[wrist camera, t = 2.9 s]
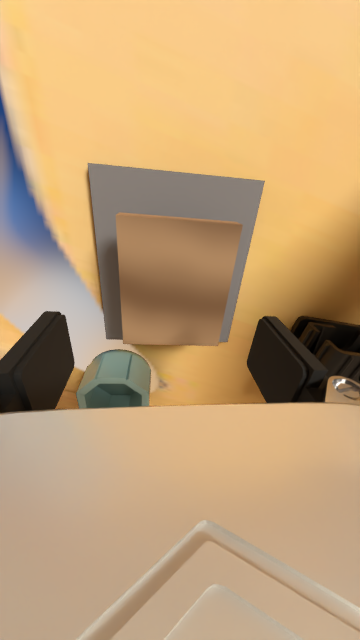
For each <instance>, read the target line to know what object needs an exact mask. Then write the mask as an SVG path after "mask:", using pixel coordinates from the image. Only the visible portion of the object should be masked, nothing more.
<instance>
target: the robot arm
mask: <svg viewBox="0 0 360 640" xmlns="http://www.w3.org/2000/svg"><path fill="white" fill-rule="evenodd" d="M247 366H248V368H249V370H250V372H251V374H252V376H253V378H254V380H255V382H256V384H257V385H258V387H259V389H260V391H261V393H262V395H263V397H264V399H265V400H266V402H267V403H245V404H205V405H169V406H137V407H108V408H79V409H55V408H56V406H57V403H58V401H59V399H60V397H61V395H62V392H63V390H64V388H65V386H66V384H67V381H68V379H69V377H70V375H71V373H72V371H73V368H74V357H73V352H72V347H71V342H70V337H69V333H68V327H67V322H66V317H65V315H61V313H60V312H50V311H49V312H48V311H46V312H44V313H43V314H42V315H41V316H40V317H39V319H38V320H37V321H36V322H35V323H34V324H33V325H32V326H31V327H30V328H29V330H28V331H27V332H26V333H25V334H24V335H23V336H22V337H21V338H20V339H19V340H18V341H17V343H16V344H15V345H14V346H13V347H12V348H11V349H10V350H9V351H8V352H7V354H6V355H5V356H4V357H3V358H2V359H1V360H0V640H360V384H359V383H357V382H355V381H353V380H351V379H349V378H346V377H342V376H332V377H330V378H328V377H327V376H326V373H327V372H328V370H327V369H326V368H325V366H324V365H323V364H322V363H321V362H320V361H319V360H318V359H317V358H316V357H315V356H314V355H313V354H312V353H311V352H310V351H309V350H308V349H307V348H306V347H305V346H304V345H303V344H302V343H301V342H300V341H299V340H298V339H297V338H296V337H295V336H294V335H293V334H292V333H291V332H290V330H289V329H288V328H287V327H286V326H285V325H284V324H283V323H282V322H281V321H280V320H279V319H278V318H277V317H271V316H264V317H263V318H262V319H260V320H259V322H258V325H257V328H256V332H255V335H254V339H253V342H252V345H251V349H250V352H249V356H248V359H247Z"/></svg>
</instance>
